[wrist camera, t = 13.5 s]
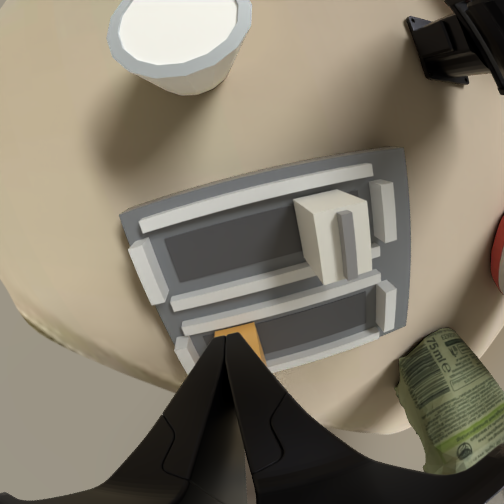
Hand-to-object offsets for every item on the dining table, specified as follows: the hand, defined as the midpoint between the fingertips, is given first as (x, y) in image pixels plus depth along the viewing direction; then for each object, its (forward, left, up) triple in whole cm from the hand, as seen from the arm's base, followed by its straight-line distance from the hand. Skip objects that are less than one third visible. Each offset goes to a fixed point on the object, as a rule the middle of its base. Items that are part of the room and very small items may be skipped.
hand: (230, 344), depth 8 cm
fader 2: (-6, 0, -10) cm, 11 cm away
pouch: (-19, +22, -12) cm, 32 cm away
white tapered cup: (-1, -13, -12) cm, 18 cm away
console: (-4, +4, -12) cm, 13 cm away
